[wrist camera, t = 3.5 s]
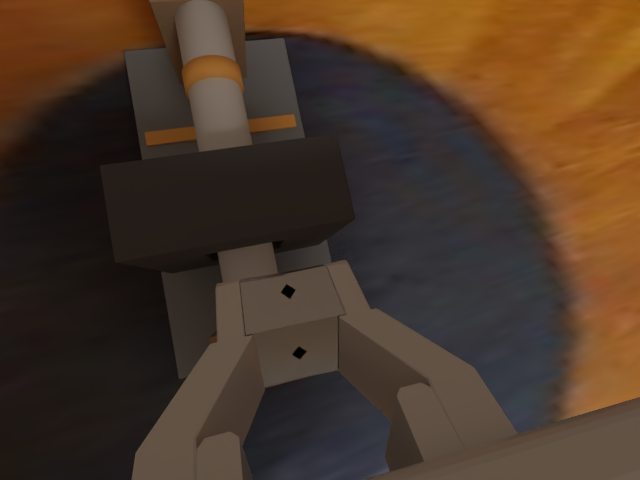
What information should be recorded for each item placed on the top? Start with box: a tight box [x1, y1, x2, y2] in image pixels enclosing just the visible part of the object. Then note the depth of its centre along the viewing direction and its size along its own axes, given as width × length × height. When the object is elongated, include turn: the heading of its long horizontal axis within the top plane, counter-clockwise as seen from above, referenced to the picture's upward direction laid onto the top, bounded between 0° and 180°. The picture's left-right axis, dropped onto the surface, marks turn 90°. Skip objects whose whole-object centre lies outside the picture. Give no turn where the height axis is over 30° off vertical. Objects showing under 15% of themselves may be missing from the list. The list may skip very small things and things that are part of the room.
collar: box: [100, 133, 355, 274], centre depth 20 cm, size 4×10×10 cm, turn 102°
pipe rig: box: [124, 0, 332, 388], centre depth 24 cm, size 24×12×10 cm, turn 12°
